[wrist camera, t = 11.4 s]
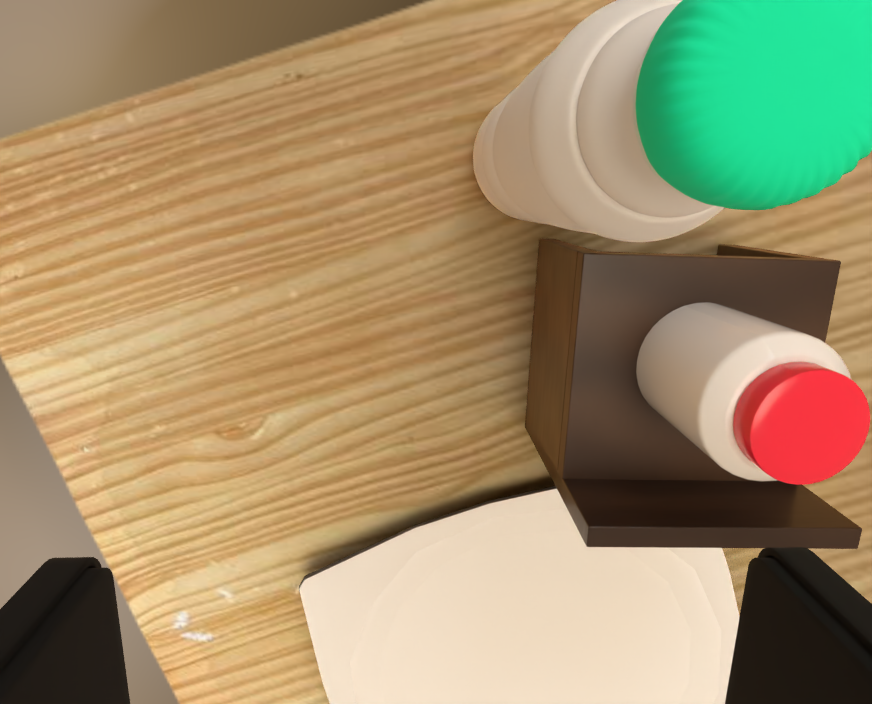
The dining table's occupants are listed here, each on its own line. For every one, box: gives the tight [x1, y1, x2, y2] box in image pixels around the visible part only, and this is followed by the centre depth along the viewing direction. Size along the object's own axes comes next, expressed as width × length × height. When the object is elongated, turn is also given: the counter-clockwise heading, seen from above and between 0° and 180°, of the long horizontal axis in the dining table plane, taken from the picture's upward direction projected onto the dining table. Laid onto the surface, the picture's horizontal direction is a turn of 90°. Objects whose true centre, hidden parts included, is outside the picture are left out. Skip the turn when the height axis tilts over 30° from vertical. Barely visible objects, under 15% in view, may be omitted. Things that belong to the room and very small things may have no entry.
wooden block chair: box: [525, 238, 862, 549], centre depth 32 cm, size 12×12×14 cm
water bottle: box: [473, 0, 872, 242], centre depth 23 cm, size 7×7×25 cm
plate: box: [299, 486, 740, 704], centre depth 43 cm, size 29×29×3 cm
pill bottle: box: [636, 302, 870, 485], centre depth 25 cm, size 6×6×8 cm
